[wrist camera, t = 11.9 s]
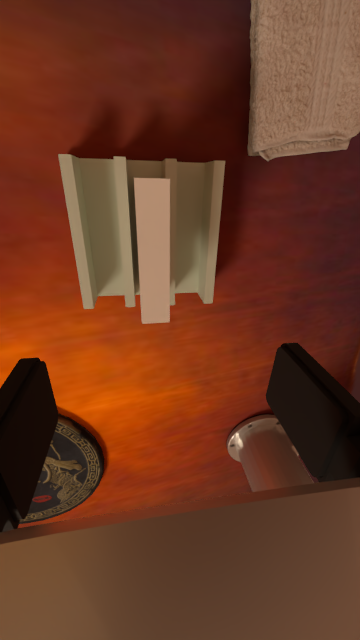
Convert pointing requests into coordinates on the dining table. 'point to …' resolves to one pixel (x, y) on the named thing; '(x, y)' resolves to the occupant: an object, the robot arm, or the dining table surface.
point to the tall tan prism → (153, 247)
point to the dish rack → (120, 224)
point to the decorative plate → (67, 471)
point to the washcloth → (303, 76)
